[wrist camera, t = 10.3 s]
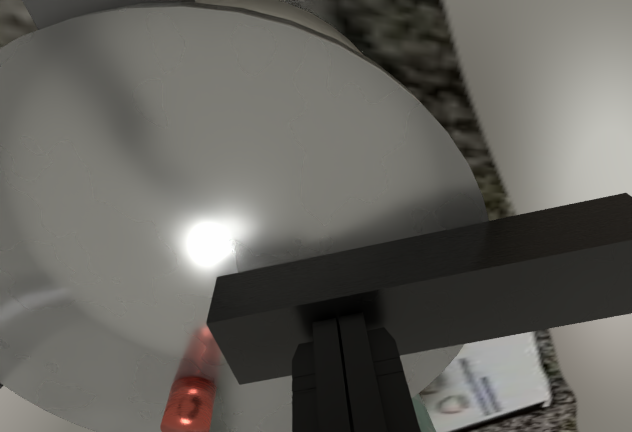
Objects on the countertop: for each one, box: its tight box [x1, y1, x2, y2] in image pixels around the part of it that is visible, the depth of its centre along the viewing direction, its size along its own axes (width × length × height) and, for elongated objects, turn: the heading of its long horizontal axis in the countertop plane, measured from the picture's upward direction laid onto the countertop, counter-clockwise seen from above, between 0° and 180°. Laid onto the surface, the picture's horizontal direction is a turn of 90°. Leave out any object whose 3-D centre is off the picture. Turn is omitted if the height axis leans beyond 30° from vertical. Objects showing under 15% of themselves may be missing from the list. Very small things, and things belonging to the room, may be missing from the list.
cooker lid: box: [0, 2, 632, 432], centre depth 14 cm, size 19×25×4 cm
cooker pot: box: [22, 0, 363, 55], centre depth 20 cm, size 25×18×10 cm
